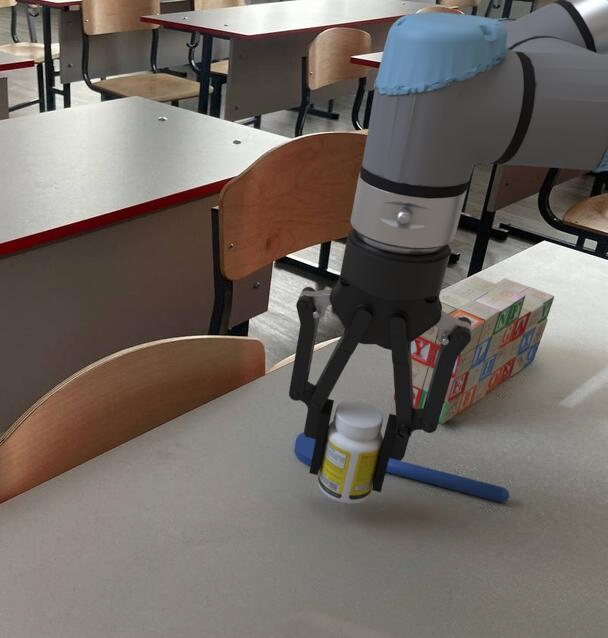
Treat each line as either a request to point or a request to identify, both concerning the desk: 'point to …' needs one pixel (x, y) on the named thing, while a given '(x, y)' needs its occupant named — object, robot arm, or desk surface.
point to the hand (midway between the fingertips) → (346, 472)
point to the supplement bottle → (351, 452)
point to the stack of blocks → (482, 340)
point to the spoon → (418, 474)
